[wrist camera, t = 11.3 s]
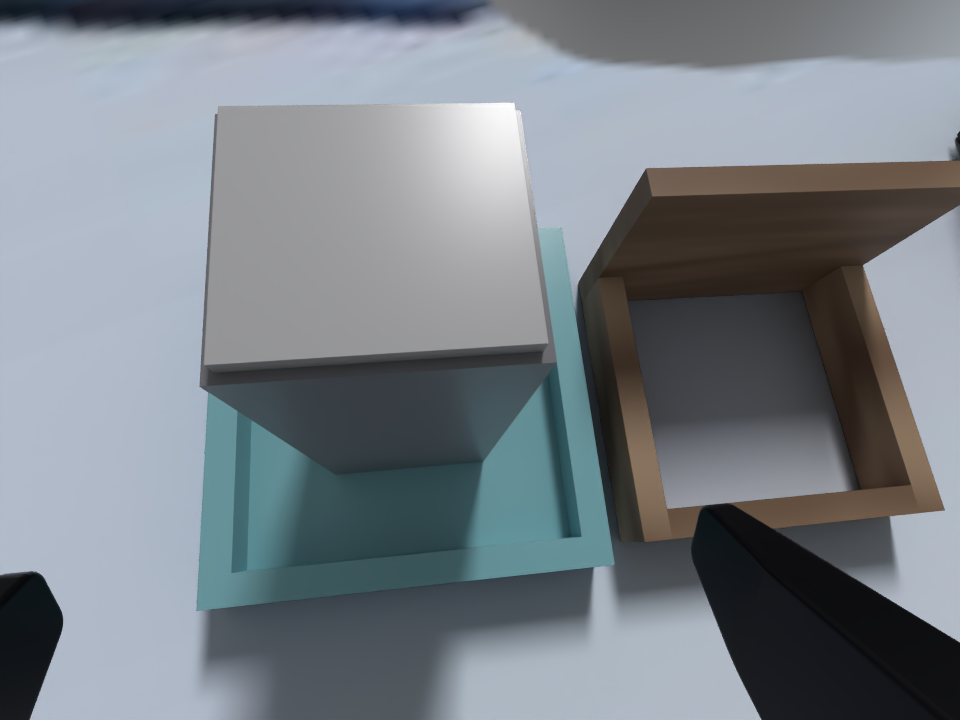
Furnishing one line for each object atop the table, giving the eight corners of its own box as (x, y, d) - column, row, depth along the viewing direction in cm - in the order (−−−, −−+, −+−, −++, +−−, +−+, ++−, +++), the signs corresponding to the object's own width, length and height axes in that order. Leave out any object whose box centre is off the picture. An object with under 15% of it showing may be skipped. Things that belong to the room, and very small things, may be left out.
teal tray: (594, 561, 21) (614, 565, 19) (223, 601, 19) (196, 610, 17) (549, 255, 25) (561, 227, 22) (237, 269, 23) (216, 240, 21)
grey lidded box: (483, 461, 21) (563, 354, 8) (335, 474, 20) (188, 379, 8) (470, 338, 22) (524, 94, 10) (332, 346, 22) (206, 96, 9)
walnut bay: (890, 512, 22) (1126, 501, 15) (620, 541, 21) (728, 544, 14) (816, 271, 26) (978, 160, 18) (578, 282, 24) (646, 168, 17)
